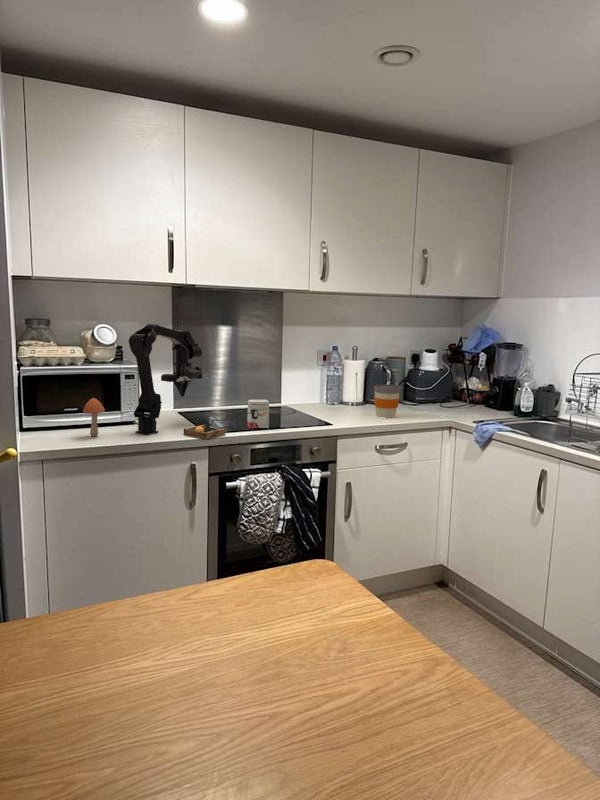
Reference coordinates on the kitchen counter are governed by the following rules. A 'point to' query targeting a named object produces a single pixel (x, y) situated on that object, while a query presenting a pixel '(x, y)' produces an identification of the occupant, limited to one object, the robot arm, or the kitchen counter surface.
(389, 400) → the reusable coffee cup
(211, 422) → the lever
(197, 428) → the ball
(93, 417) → the mushroom
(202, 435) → the wooden tray
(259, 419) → the ink box
